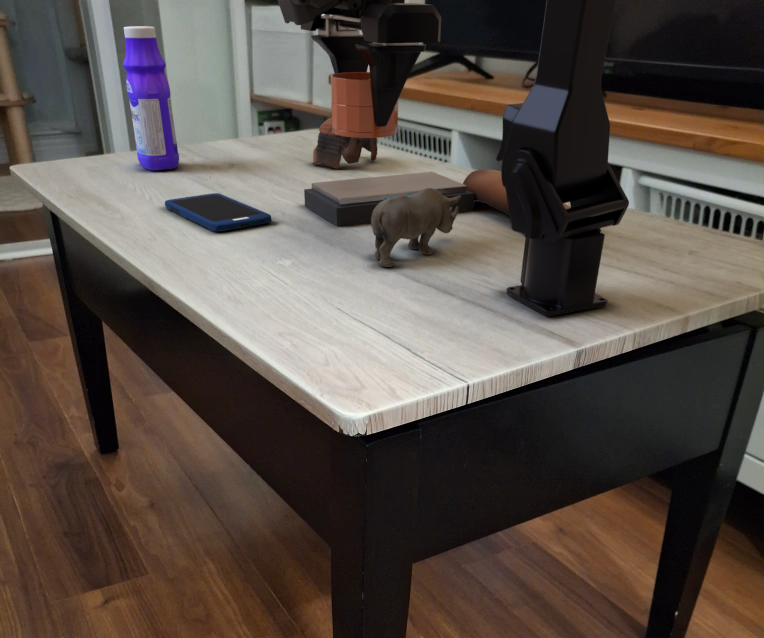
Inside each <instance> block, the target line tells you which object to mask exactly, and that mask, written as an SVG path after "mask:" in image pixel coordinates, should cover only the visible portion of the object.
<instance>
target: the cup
mask: <svg viewBox="0 0 764 638" xmlns="http://www.w3.org/2000/svg"><path fill="white" fill-rule="evenodd" d="M330 106H331V108H330V109H331V112H330V114H331V113H332V132H333V133H334V134H336V135H340V136H346V137H355V138H386V137H392V136H394V135H396V134H398V126H399V125H398V124H399V100H398V101H397V103H396V105H395V107H394V110H393V112H392V114H391V116H390V119H389V121H388V123H387V125H386V126H382V127H378V126H376V125H375V120H374V113H373V104H372V93H371V81H370V71H367V72H343V73H335V74H334V73H332V74H330Z"/></svg>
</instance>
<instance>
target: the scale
mask: <svg viewBox="0 0 764 638" xmlns="http://www.w3.org/2000/svg"><path fill="white" fill-rule="evenodd" d="M425 188H432V189H435V190H436V191H437V189H440V190H441V193H442V195H443V196H445V197H447V198H453V197H457V196H459V195H460V196H461V197H460V200H459V202H457V203H455V204H452V205H450V207H452V213H453V212H454V211H455V209H456V207H458V208H459V209H458V213H461V212H462V213H464V212H471V211H472V212H473V211H474V205H475V204H474V203H475V201H474V193H473V192H470V191H468V190H466V189H467V186H466V185H464V184H463V182H459V181H457V180H455V179H452V178H449V177H446V176H443V175H441V174H440V173H436V172H433V171H425V172H414V173H413V172H412V173H402V174H392V175H384V176H383V175H382V176H372V177H371V176H370V177H361V178H351V179H340V180H339V179H338V180H330V181H329V180H328V181H320V182H319V181H318V182H311V188H304V189H303V191H304V197H303V198H304V207H305V208H307V209H308V210H310V211H312V212H313V213H314V214H316V215H318V216H319V217H321V218H323V219H324V220H326V221H327V222H329V223H330V224H332V225H333V226H336V227H344V226H345V227H346V226H352V225H363V224H369V223H370V224H371V217H372V213H373V210H374V209H375V207H376V206H377V205H378V204H379V203H380V202H382V201H384V200H386V199H390V198H394V197H398V196H401V195H402V196H407V197H410V196H412V195H414V194H416V193H418V192H420V191H421V190H423V189H425ZM450 207H449V208H450ZM452 213H451V214H452Z"/></svg>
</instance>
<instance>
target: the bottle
mask: <svg viewBox="0 0 764 638" xmlns="http://www.w3.org/2000/svg"><path fill="white" fill-rule="evenodd" d="M123 32H124V40H125V55H124V56H125V57H124V61H123V62H122V63H123V64H122V66H123V68H124V70H125V71H126V82H125V83H126V93H127V96H128V100H129V107H130V114H131V119H132V126H133V133H134V140H135V147H136V156H137V160H138V162H139V164H140V166H141V167H142V168H144V169H146V170H149V171H161V170H173V169H176V168H177V167H178V166H179V162H180V153H179V149H178V142H177V141H178V140H177V135H176V129H175V128H176V127H175V122H174V121H175V120H174V113H173V106H172V100H171V88H170V84H169V81H168V78H167V75H166V73H165V69H166V67H167V63H166V61H165V60H164V58H163V57H162V56H163V55H162V54H161V52H160V50H159V49H160V48H159V46H158V41H157V34H156V27H155V26H150V25H149V26H148V25H141V26H140V25H131V26H124V27H123Z"/></svg>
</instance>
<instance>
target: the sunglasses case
mask: <svg viewBox="0 0 764 638" xmlns="http://www.w3.org/2000/svg"><path fill="white" fill-rule="evenodd" d="M462 184H464V185H466V186H467V189H466V190H468V191H470V192H473V193H474V202H479V203H482V204H486V205H488V206H489V207H492V208H494V209H495V210H498V211H499V212H503V213H505V214H506V215H508V216H509V217H510V214H509V207H508V201H507V194H506V188H504V187H503V184H502V178H501V170H496V169H489V168H488V169H487V168H485V169H483V168H482V169H476V170H473V171H471V172H470V173H469V174H468V175H466V177H465V179H464V180H463V182H462ZM563 205H564V207H565V209H569V208H571V207H570V206H569V205H568V204H567V203H563Z"/></svg>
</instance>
